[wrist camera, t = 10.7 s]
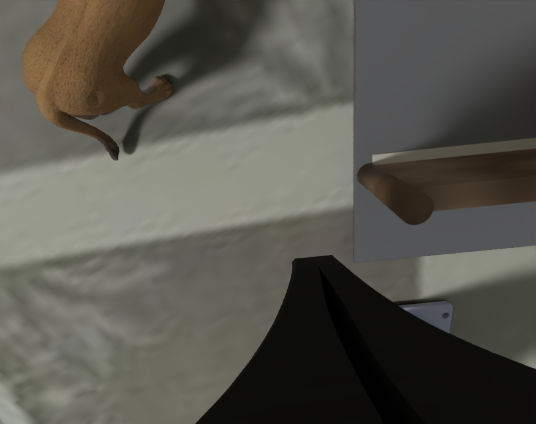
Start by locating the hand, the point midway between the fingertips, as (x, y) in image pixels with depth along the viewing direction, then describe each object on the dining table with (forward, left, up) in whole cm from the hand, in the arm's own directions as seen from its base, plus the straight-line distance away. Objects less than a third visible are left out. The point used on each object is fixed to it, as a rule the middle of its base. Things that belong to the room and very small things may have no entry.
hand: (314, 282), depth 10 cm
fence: (+1, -11, -9) cm, 14 cm away
